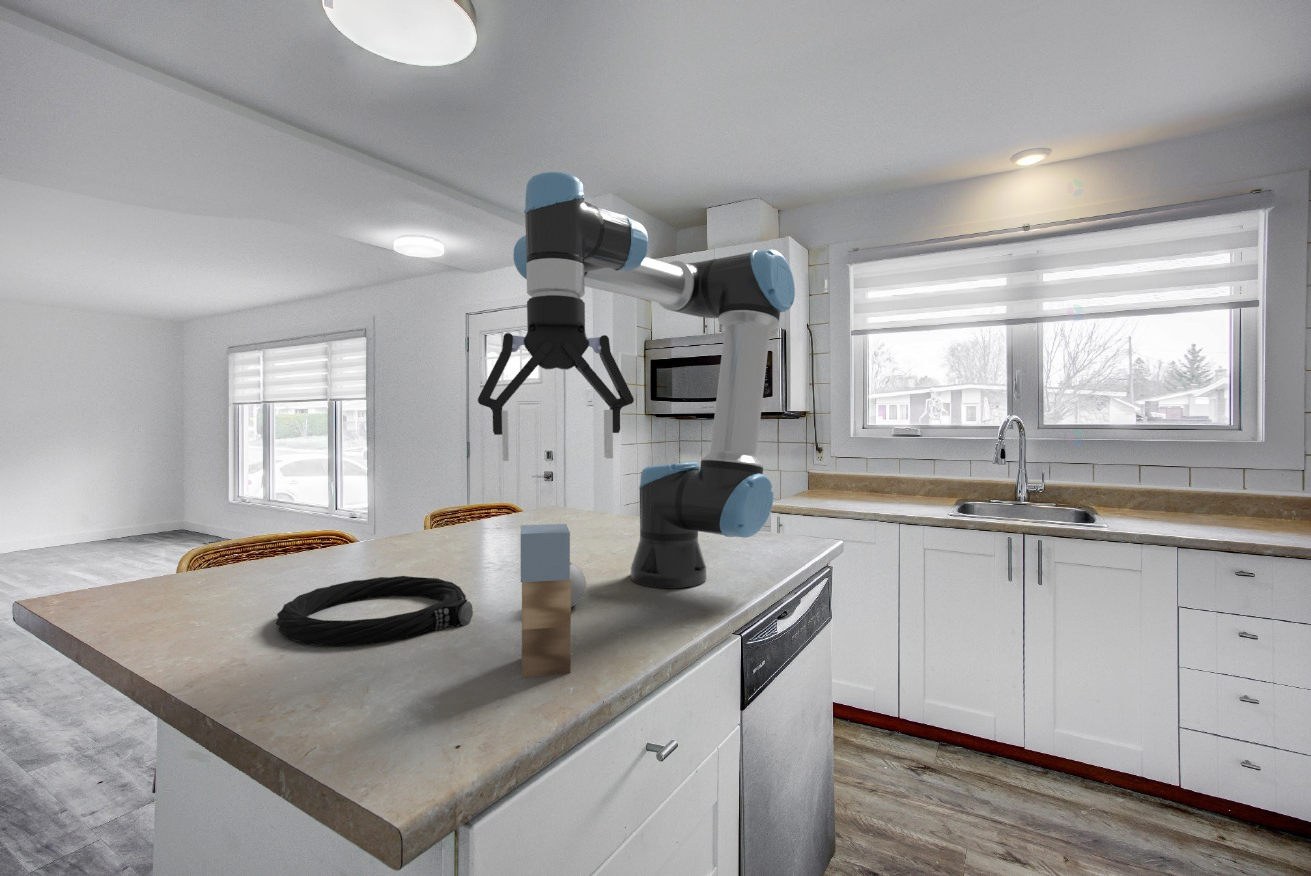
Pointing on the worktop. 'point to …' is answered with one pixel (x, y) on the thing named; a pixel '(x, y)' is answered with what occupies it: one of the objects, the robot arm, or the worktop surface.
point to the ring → (378, 629)
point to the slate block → (545, 552)
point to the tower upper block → (546, 604)
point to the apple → (576, 583)
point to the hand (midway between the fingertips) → (558, 459)
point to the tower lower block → (546, 651)
